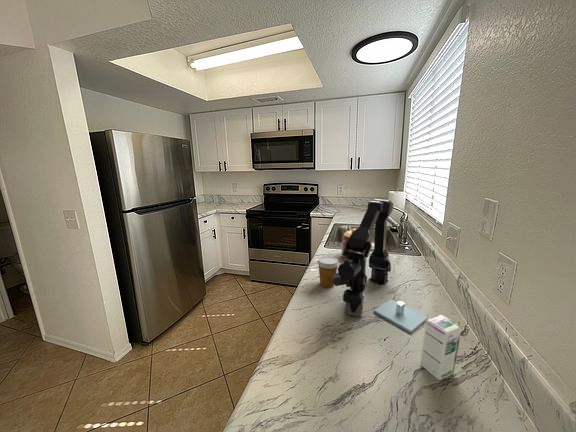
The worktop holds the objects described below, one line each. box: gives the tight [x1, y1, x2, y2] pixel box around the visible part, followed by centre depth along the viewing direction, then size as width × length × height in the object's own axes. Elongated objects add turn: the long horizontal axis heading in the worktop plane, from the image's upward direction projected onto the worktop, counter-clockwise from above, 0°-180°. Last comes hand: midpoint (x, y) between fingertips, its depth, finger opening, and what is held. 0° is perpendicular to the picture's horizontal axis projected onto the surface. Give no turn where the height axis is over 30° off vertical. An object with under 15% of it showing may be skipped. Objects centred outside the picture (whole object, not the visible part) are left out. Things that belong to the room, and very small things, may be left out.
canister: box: [340, 228, 357, 260], centre depth 137 cm, size 13×13×18 cm
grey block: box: [344, 295, 365, 318], centre depth 90 cm, size 6×6×5 cm
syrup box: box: [420, 314, 462, 382], centre depth 64 cm, size 6×6×14 cm
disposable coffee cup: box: [316, 255, 340, 289], centre depth 108 cm, size 10×10×12 cm
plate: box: [373, 299, 429, 334], centre depth 87 cm, size 14×12×1 cm
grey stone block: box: [396, 301, 406, 315], centre depth 87 cm, size 2×3×4 cm
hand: (354, 307), depth 90 cm, fingers closed on grey block, 6 cm apart
